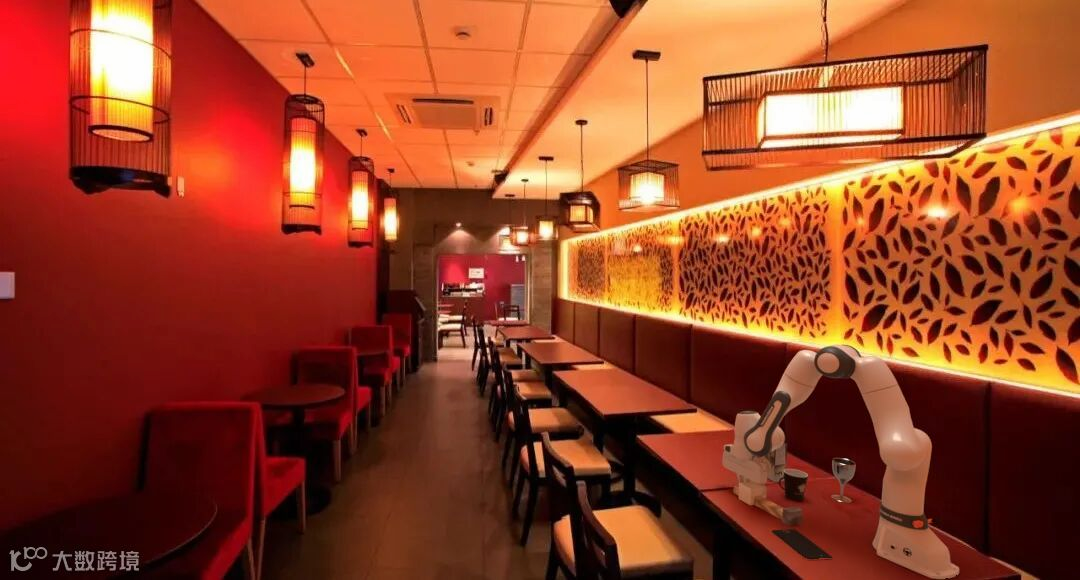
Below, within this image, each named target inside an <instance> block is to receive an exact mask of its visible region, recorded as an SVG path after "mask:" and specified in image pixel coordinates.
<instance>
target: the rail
mask: <svg viewBox="0 0 1080 580" xmlns="http://www.w3.org/2000/svg"><path fill="white" fill-rule="evenodd" d="M733 494H734V495H736V496H738V497H739V484H736V485H733ZM753 506H756V507H758V508H760V509H761V510H763V511H765V512H767V513H768V514H770V515H772V516H774V517H776V518H777V519H780V520H781V523H782V524H784V525H786V526H788V527H793V526H797V525H802V524H803V523H802V521H803V520H802V519H803V509H801V508H799V507H797V506H789V507H785V508H784V507H782V506H781V505H778V503H777V504H776V503H775V502H773V501H771V500H769V499H768V498H766V499H765V498H763V497H762V496H755V498H754V505H753Z"/></svg>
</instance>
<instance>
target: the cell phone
mask: <svg viewBox="0 0 1080 580" xmlns="http://www.w3.org/2000/svg"><path fill="white" fill-rule="evenodd" d="M772 533H773V534H774V535H775V536H777V537H778V538H779V540H781V541H783V542H784V543H785V544H786V545H787V546H789V547H790V548H792V549H793V550H794V551H795V552H796V551H797V552H796V553H797V554H799V555H800V554H801V555H802V556H801V555H800V556H801V557H803V556H804V557H805V558H807V559H819V558H832V559H833V556H831V555H830V554H829V553H828V552H827V551H825V550H823V548H821V547H820V546H818V545H817V544H816V543H814V542H813V541H812V540H810V539H809V538H808V537H806V536H805V535H804V534H802V533H801V532H800V531H798V530H797V529H795V528H793V529H792V528H788V529H786V528H785V529H772ZM804 557H803V558H804ZM805 558H804V559H805Z"/></svg>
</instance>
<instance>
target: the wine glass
mask: <svg viewBox="0 0 1080 580" xmlns="http://www.w3.org/2000/svg"><path fill="white" fill-rule="evenodd" d="M831 463H832V466H831V467H832V473H833V475H834V476H835V478H836V479H837V480H838V482H839V484H840V494H831V496H830V497H831V498H832V499H833V500H835V501H837V502H840V503H841V502H842V503H846V504H848V503H852V499H851V498H849V497H847V496H845V495H844V488H845V485H846V484H847V483H848V482H849V481H850V480H852V479H853V477H854V475H855V472H856V462H855V461H853V460H850V459H848V458H842V457H833V458H832V462H831Z"/></svg>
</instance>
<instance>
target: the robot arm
mask: <svg viewBox="0 0 1080 580" xmlns="http://www.w3.org/2000/svg"><path fill="white" fill-rule="evenodd" d="M823 376H824V377H826V378H832V379H852V380H853V381H855V383H856V385H857V387H858V389H859V392H860V394H861V396H862V399H863V402H864V403H865V406H866V408H867V410H868V412H869V415H870V418H871V421H872V423H873V428H874V433H875V436H876V439H877V443H878V448H879V455H880V458H881V460H882V462H883V463H884V464H885V465H886V469H885V472H884V475H883V479H882V490H881V501H880V502H879V508H878V515H879V516H878V517H879V521H878V525H877V530H876V533H875V537H874V539H873V541H872V544H871V545H872V546H873V548H874V549H875V550H876V555H877V556H879V557H880V558H883V559H886V560H887V561H890V562H893V563H894V564H897V565H899V566H901V567H904V568H907V569H908V570H911V571H914V572H915V573H917V574H920V575H923V576H924V577H927V578H929V579H933V580H934V579H936V580H945V579H946V578H948V579H951V578H955V577H957V576H958V575H959V574H960V567H959V566H957V565H955V564H954V563H952V562H951V554H950V551H949V548H948V547H947V546H946V544H944V542H942V541H941V539H940V538H939V537H938V536H937V535H936V534H935V533H934V531H932V529H930V528H931V527H929V526H930V525H929V524H930V523H931V524H932V520H933V518H928V519H927V517H926V514H925V512H924V505H925V494H926V493H925V492H926V486H927V482H928V475H929V471H930V470H929V469H930V464H931V463H930V462H931V459H932V458H931V456H932V450H933V449H932V448H933V445H932V441H931V440H932V439H930V436H928V434H927V433H925V432H924V431H923V430H921V429H918V428H916V427H914V425H913V420H912V417H911V413H910V407H909V405H908V403H907V401H906V399H905V396H904V395H903V392H902V389H901V387H900V385H899V383H898V381H897V379H896V377H895V376H894V374H893V372H892V371H891V369H890V368H889V366H888V365H887V363H886V362H885V361H884V360H883V359H882V358H881V357H879V356H876V355H868V356H863V357H862V355H861V353H860V352H859V351H858V349H856V348H855V347H853V346H852V345H848V344H832V345H831V344H830V345H829V346H825V347H822V348H821V349H819V350H818V351H817V352H815V351H814V350H811V349H810V350H808V349H803V350H799V351H798V352H796V354H795V356H794V357H793V358H792V359H791V361H790V362H789V363H788V365H787V367H786V369H785V370H784V373H783V374H782V376H781V378H780V381H779V383H778V385H777V387H776V389H775V391H774V393H773V394H772V397H771V399H770V401H769V402H768V404H767V406H766V408H765V409H764V410H763V412H762V414H761V415H760V414H759V412H757V411H755V410H743V411H740V412H738V413H737V414H736V416H735V423H734V431H733V432H734V433H733V434H734V441H733V443H730V444H729V443H728V444H724V445H723V450H724V451H723V453H722V462H721V463H722V466H723V467H724V468H725V469H727V470H729V471H732V472H733V473H735V474H736V477H737V479H738V480H737V481H738V484H739V483H744V482H750V481H753V482H755V483H757V484H762V485H766V483H768V478H767V469H766V464H765V462H764V460H762V459H761V457H763V456H766V455H767V454H768V453H770V452H772V451H774V450H776V449H778V448H779V447H781V446H782V445H783V444H784V443H786V435H785V432H784V431H783V429H782V428H781V427H780V426H779V425H780V423H781V422H782V420H783V418H784V416H786V415H787V414H788V413H789V412H790V411H791V410H792V409H794V408H796V407H797V406H799V405H801V404H803V403H804V402H805V401H806V400H807V399H808V398H809V396H810V395H811V394H812V393H813V391H814V390H815V388H816V387H817V384H818V382H819V380H820V379H821V378H822V377H823ZM956 575H957V576H956Z"/></svg>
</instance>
